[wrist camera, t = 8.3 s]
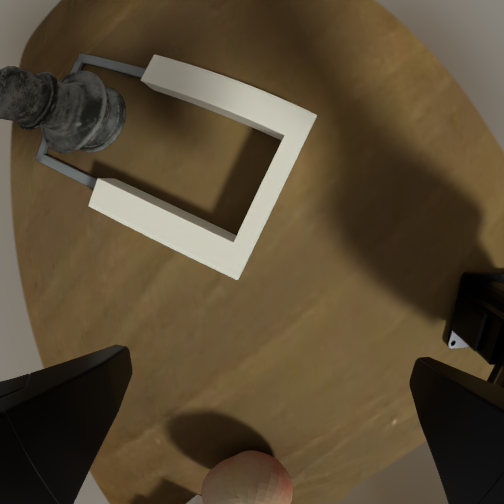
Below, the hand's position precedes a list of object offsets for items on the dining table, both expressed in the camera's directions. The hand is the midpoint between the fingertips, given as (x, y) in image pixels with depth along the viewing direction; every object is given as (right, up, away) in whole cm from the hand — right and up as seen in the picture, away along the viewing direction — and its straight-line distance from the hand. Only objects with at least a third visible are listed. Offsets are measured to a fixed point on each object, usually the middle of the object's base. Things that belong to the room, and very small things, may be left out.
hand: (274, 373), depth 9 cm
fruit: (-1, -17, +17) cm, 24 cm away
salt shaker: (-12, +14, +12) cm, 22 cm away
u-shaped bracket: (-4, +10, +12) cm, 16 cm away
